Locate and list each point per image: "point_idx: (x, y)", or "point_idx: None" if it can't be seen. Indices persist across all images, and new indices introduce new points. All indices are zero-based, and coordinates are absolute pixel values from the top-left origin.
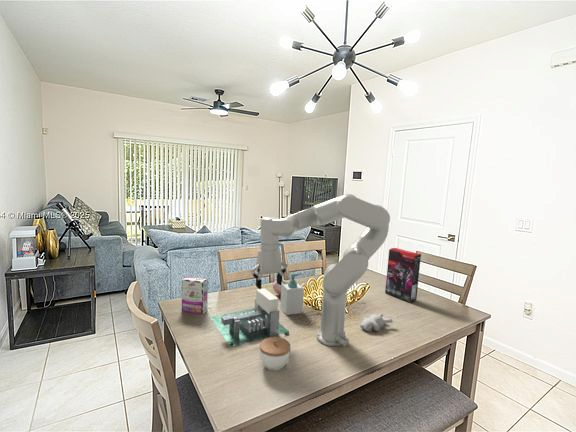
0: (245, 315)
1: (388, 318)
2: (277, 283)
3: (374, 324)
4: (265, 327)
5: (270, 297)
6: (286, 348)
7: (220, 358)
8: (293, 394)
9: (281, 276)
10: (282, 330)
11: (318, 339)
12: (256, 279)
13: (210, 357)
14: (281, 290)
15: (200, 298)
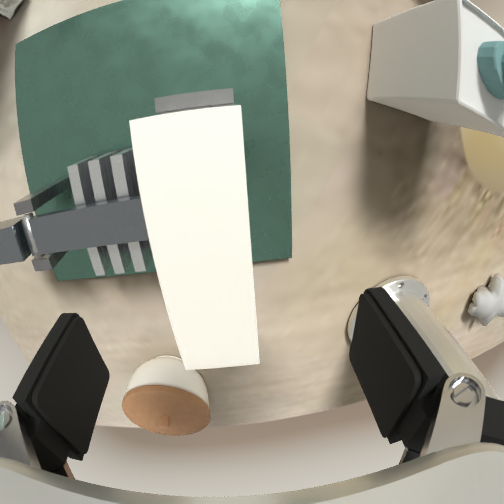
0: (77, 229)
1: None
2: (358, 309)
3: (487, 319)
4: None
5: (207, 340)
6: (191, 431)
7: (41, 303)
8: None
9: (400, 438)
10: (270, 240)
11: (350, 321)
12: (24, 417)
13: (20, 290)
14: (428, 7)
15: None
